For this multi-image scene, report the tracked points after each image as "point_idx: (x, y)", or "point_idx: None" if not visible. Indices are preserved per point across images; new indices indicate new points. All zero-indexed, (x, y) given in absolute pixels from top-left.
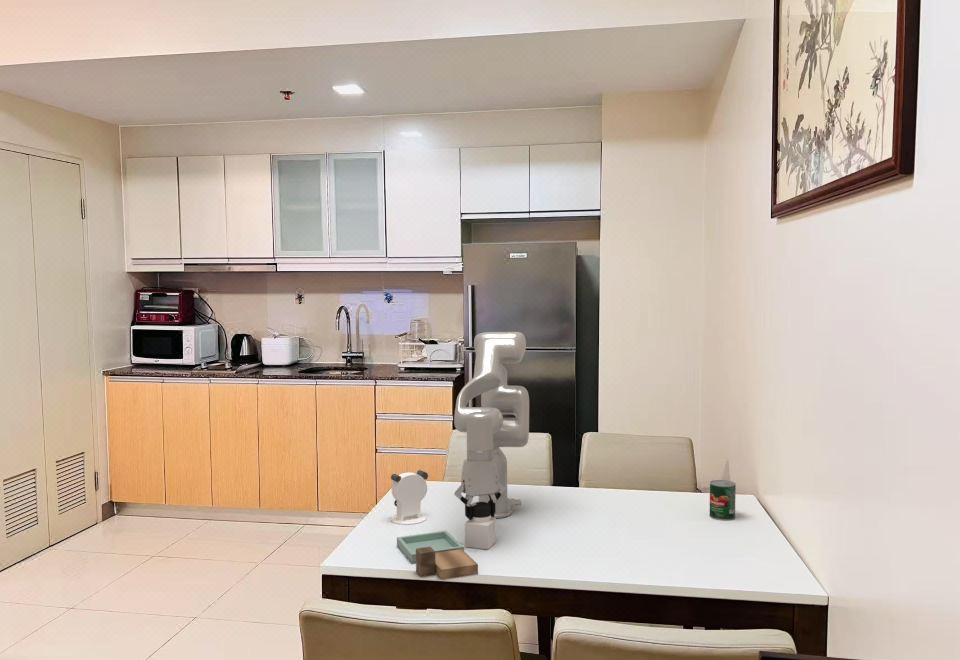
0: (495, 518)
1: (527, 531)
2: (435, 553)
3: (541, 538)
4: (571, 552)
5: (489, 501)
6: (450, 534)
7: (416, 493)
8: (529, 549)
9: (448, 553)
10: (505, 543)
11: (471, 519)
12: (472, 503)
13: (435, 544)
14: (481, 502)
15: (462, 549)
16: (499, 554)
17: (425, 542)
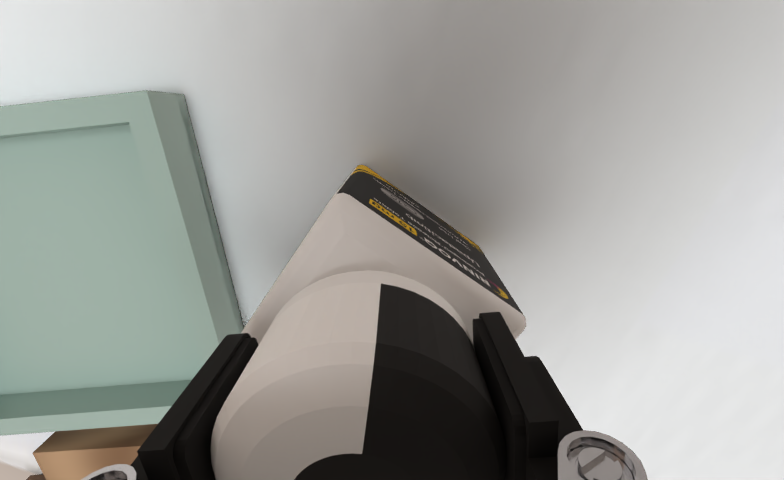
0: (524, 328)
1: (765, 119)
2: (78, 457)
3: (754, 271)
4: (749, 473)
5: (528, 462)
6: (176, 194)
7: None
8: (595, 394)
9: None
10: (521, 285)
11: None
12: (247, 431)
13: (100, 220)
14: (386, 475)
15: None
16: None
17: (32, 165)
